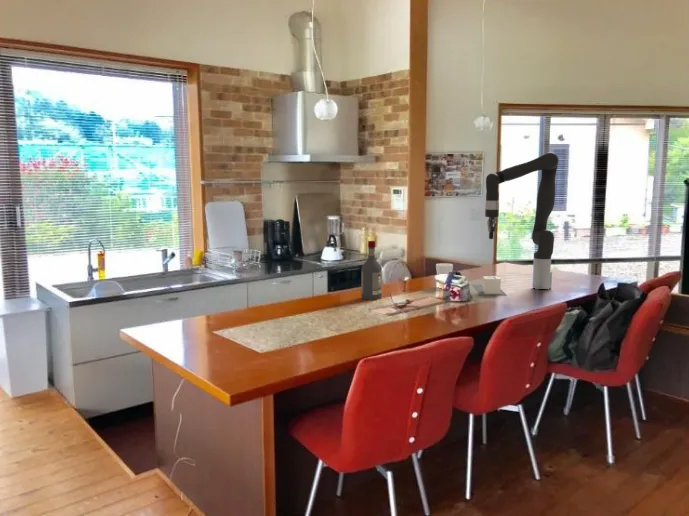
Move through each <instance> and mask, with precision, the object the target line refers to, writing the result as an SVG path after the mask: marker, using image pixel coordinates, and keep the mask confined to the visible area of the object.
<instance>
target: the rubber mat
mask: <svg viewBox="0 0 689 516" xmlns="http://www.w3.org/2000/svg"><path fill="white" fill-rule="evenodd" d="M471 286H472V288H473V289H474V290H475V291H476V292H477V293H478V295H479V294H480V295H507V294H506V292H504V291H503V290H502V289H501V288H500V294H485V293H484V292H483V291H482V286H483V284H471ZM480 295H479V296H480Z"/></svg>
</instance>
